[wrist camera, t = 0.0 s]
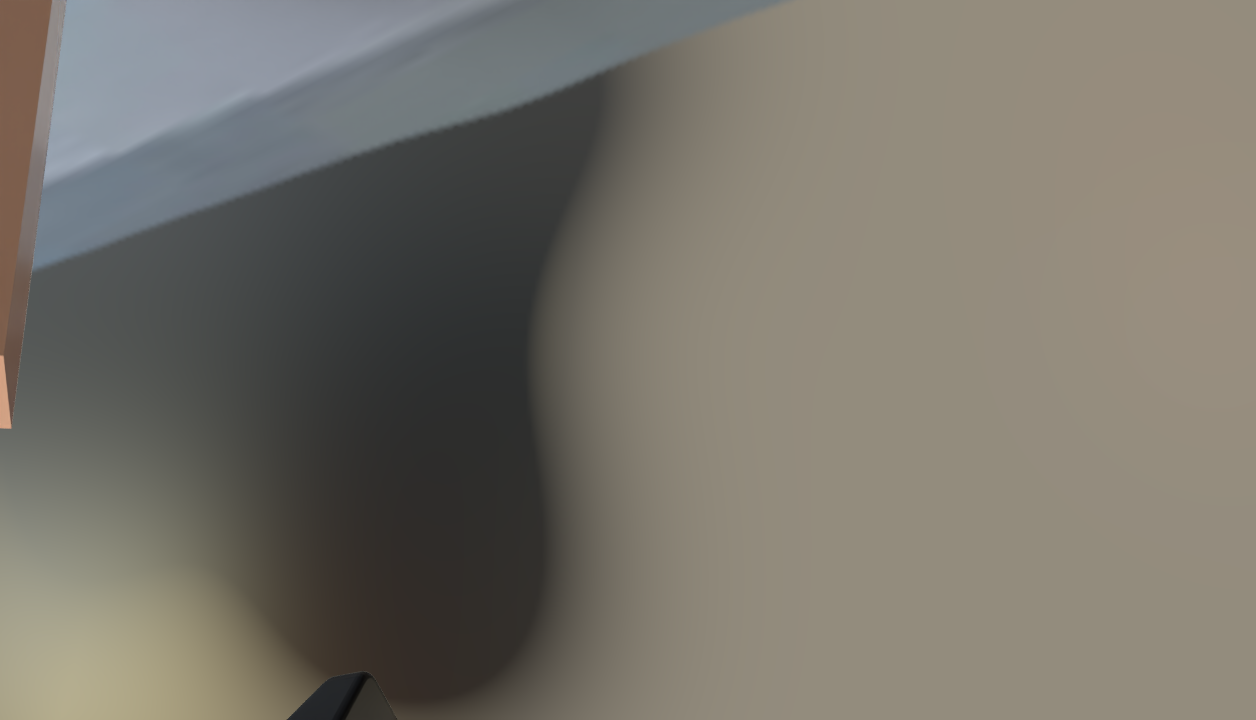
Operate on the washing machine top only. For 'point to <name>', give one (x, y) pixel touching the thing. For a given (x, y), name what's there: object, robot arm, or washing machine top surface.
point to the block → (22, 163)
